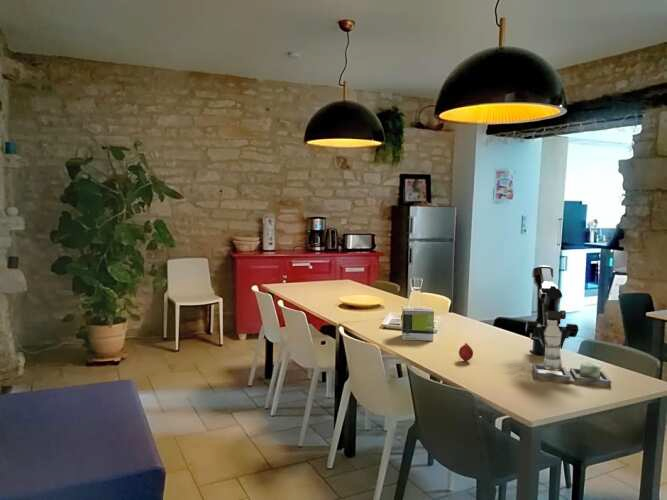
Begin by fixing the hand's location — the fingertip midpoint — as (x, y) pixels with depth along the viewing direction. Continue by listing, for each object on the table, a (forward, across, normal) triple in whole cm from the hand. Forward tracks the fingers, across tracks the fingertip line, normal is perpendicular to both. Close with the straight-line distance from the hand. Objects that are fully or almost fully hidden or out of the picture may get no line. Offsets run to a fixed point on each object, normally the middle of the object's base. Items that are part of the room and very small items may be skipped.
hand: (552, 347), depth 199 cm
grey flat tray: (+8, +7, +9) cm, 14 cm away
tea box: (-20, -56, +38) cm, 71 cm away
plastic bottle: (+6, +1, +8) cm, 10 cm away
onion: (+2, -32, +15) cm, 36 cm away
